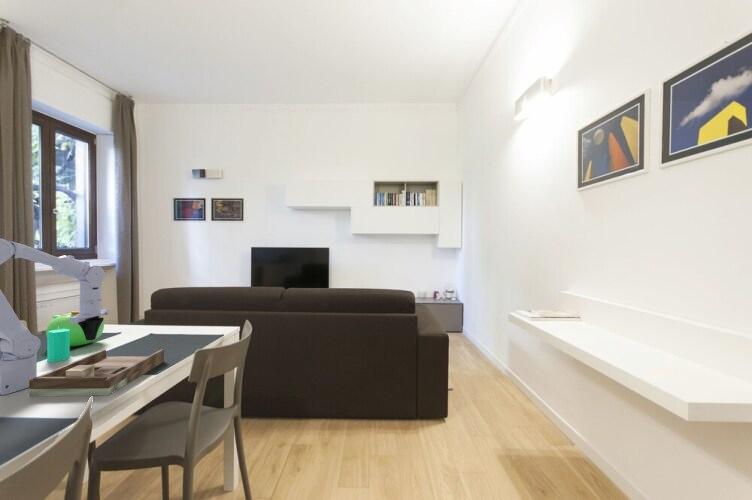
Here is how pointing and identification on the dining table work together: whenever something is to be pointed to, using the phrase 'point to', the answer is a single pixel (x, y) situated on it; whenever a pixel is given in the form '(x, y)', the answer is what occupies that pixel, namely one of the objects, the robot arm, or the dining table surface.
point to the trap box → (95, 375)
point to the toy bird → (71, 328)
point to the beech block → (81, 371)
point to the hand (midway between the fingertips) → (90, 339)
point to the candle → (58, 345)
